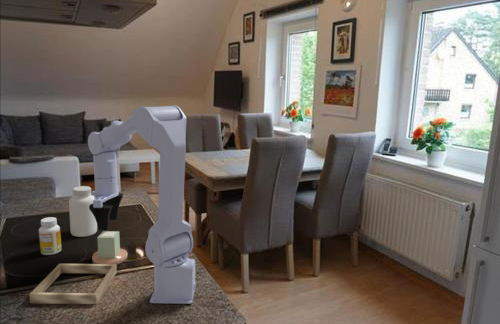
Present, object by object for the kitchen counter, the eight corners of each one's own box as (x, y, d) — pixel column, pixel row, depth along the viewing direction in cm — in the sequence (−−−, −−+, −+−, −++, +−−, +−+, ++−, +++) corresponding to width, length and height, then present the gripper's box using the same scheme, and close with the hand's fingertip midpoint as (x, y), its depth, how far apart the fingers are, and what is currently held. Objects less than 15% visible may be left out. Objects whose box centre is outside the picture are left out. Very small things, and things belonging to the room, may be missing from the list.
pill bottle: (93, 237, 122) (90, 191, 119) (66, 237, 121) (63, 191, 118) (100, 228, 130) (98, 184, 127) (76, 228, 129) (73, 184, 126)
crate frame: (116, 272, 101) (116, 264, 101) (96, 304, 87) (96, 295, 86) (59, 271, 101) (59, 263, 100) (30, 303, 86) (29, 294, 86)
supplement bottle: (56, 245, 115) (53, 214, 113) (65, 251, 112) (62, 219, 110) (37, 251, 111) (34, 219, 109) (45, 257, 108) (42, 224, 106)
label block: (120, 251, 110) (119, 231, 109) (115, 258, 106) (114, 237, 105) (104, 251, 110) (103, 230, 109) (98, 258, 106) (97, 237, 105)
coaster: (130, 251, 113) (130, 248, 113) (121, 266, 104) (121, 262, 104) (99, 251, 113) (99, 247, 112) (87, 265, 104) (87, 261, 104)
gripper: (100, 169, 110) (102, 215, 113) (79, 183, 96) (82, 234, 99) (125, 170, 111) (127, 215, 113) (108, 183, 96) (110, 235, 99)
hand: (108, 224), depth 106 cm, fingers open, 7 cm apart
